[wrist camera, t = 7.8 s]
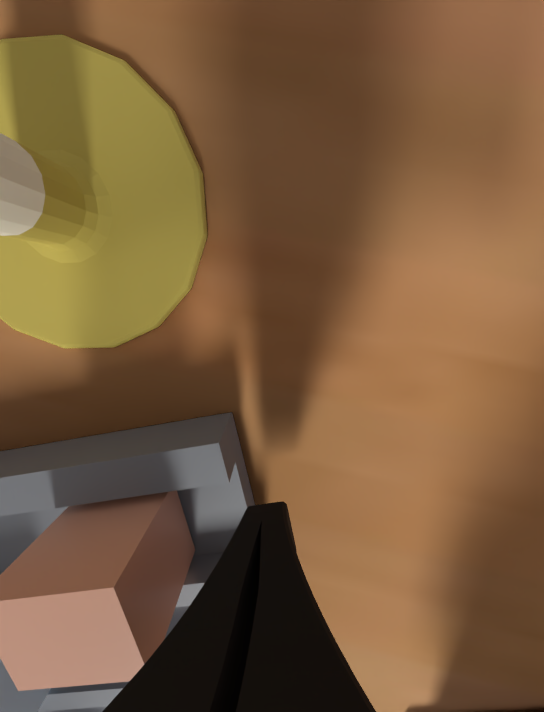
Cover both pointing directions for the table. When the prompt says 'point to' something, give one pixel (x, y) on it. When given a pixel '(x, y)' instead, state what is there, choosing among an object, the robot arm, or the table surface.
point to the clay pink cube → (94, 592)
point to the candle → (91, 197)
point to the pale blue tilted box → (18, 695)
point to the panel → (123, 480)
